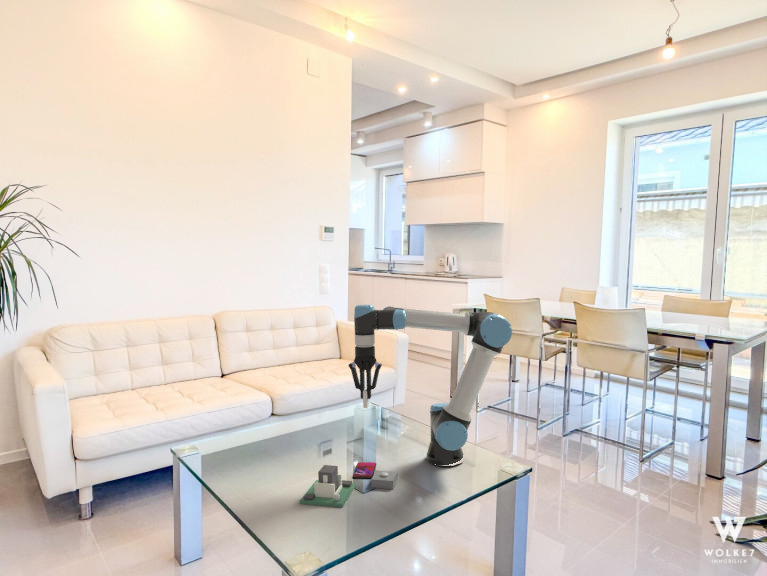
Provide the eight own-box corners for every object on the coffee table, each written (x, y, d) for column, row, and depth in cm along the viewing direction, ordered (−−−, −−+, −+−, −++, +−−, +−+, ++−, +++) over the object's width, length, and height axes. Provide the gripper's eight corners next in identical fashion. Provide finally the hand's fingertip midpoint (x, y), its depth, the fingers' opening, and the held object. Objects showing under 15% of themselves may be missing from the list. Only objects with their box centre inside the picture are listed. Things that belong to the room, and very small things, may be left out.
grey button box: (397, 479, 180) (397, 470, 180) (393, 489, 172) (393, 479, 172) (376, 478, 182) (376, 468, 182) (371, 487, 174) (371, 477, 174)
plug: (338, 488, 171) (337, 466, 171) (332, 495, 165) (332, 472, 165) (324, 487, 172) (324, 464, 172) (318, 494, 166) (318, 471, 166)
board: (355, 486, 175) (355, 470, 175) (342, 507, 159) (342, 490, 159) (316, 483, 178) (315, 468, 178) (299, 503, 163) (299, 487, 162)
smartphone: (376, 462, 196) (372, 477, 181) (376, 464, 196) (372, 479, 181) (357, 462, 197) (352, 477, 182) (357, 464, 197) (352, 479, 182)
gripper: (383, 344, 185) (384, 405, 186) (351, 343, 188) (352, 403, 189) (379, 347, 178) (380, 410, 179) (345, 346, 180) (346, 409, 181)
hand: (366, 407), depth 184 cm, fingers closed
